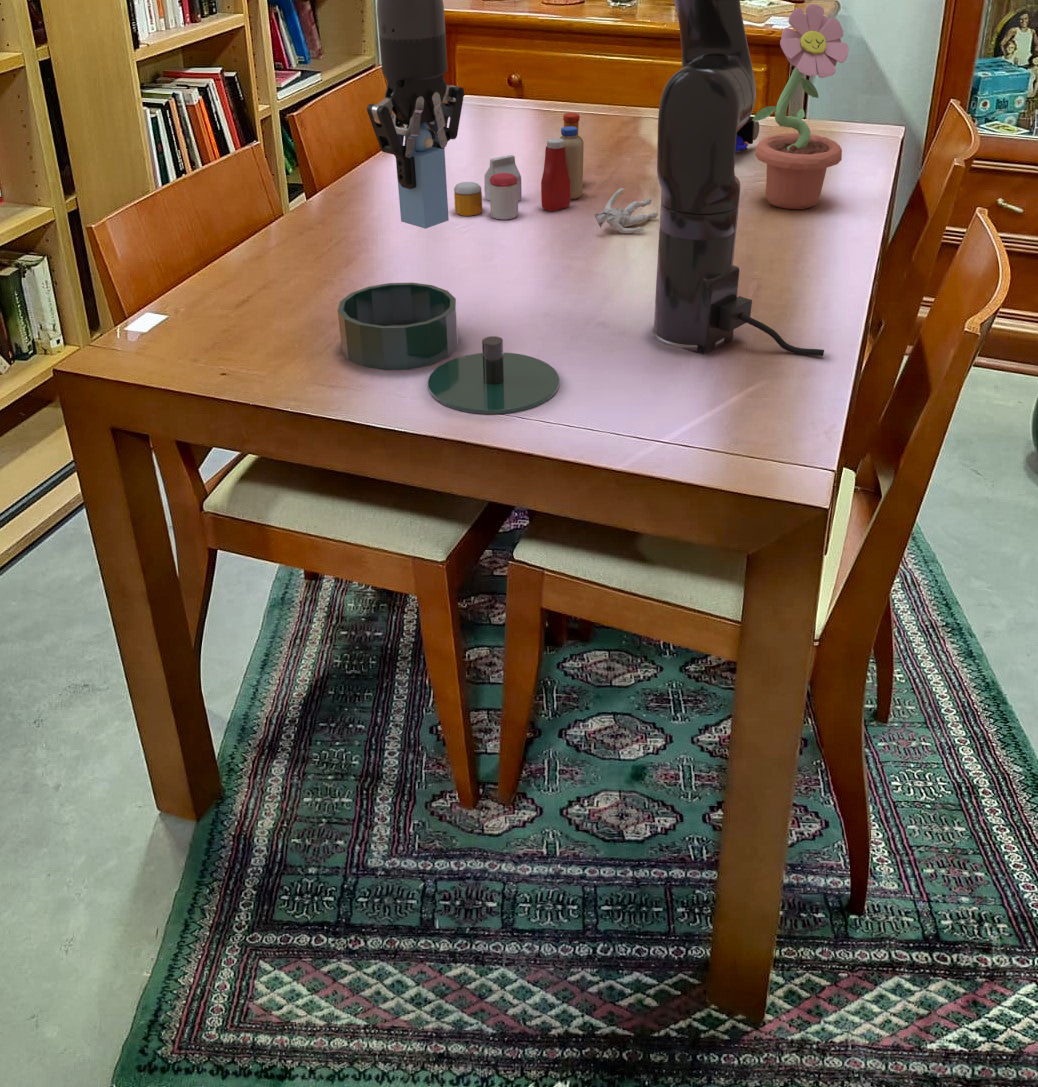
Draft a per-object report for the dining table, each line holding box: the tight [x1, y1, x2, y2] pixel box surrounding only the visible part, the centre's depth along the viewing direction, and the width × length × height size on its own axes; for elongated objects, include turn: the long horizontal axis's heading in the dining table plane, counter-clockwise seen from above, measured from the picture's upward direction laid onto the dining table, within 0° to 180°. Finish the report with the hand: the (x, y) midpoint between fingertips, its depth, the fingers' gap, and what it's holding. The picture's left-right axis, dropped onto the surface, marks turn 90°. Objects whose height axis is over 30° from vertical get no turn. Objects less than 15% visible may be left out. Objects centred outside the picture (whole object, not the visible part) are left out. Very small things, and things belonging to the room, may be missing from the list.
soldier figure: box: [593, 187, 659, 234], centre depth 178 cm, size 8×5×12 cm
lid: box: [427, 335, 560, 415], centre depth 131 cm, size 15×15×6 cm
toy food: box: [453, 112, 585, 220], centre depth 187 cm, size 27×13×12 cm, turn 124°
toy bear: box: [397, 122, 450, 230], centre depth 136 cm, size 4×4×12 cm
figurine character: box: [735, 115, 760, 153], centre depth 210 cm, size 7×8×15 cm
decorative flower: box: [752, 3, 850, 210], centre depth 180 cm, size 15×14×30 cm
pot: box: [337, 282, 459, 371], centre depth 141 cm, size 14×14×6 cm
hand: (422, 182), depth 137 cm, fingers closed on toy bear, 4 cm apart
